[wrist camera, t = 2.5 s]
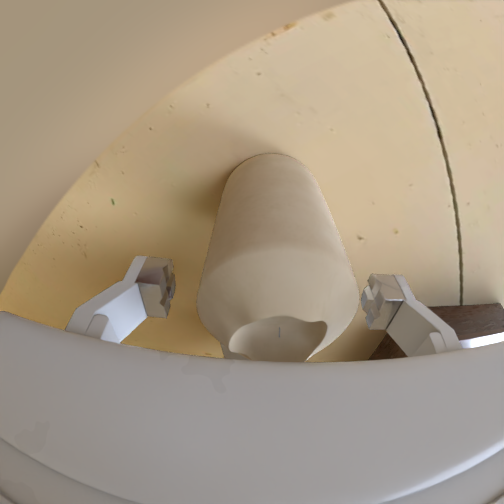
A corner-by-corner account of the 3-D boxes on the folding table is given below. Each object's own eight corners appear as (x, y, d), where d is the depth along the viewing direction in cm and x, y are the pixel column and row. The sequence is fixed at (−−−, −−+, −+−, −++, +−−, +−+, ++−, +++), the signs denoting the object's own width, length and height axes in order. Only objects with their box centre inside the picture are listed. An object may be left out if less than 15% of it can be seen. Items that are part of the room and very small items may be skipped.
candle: (311, 238, 18) (341, 385, 10) (224, 234, 18) (199, 383, 10) (324, 156, 14) (398, 287, 6) (223, 150, 14) (173, 280, 6)
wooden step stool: (402, 305, 22) (445, 435, 12) (502, 301, 22) (542, 385, 12) (340, 393, 33) (349, 476, 23) (431, 381, 33) (448, 448, 23)
